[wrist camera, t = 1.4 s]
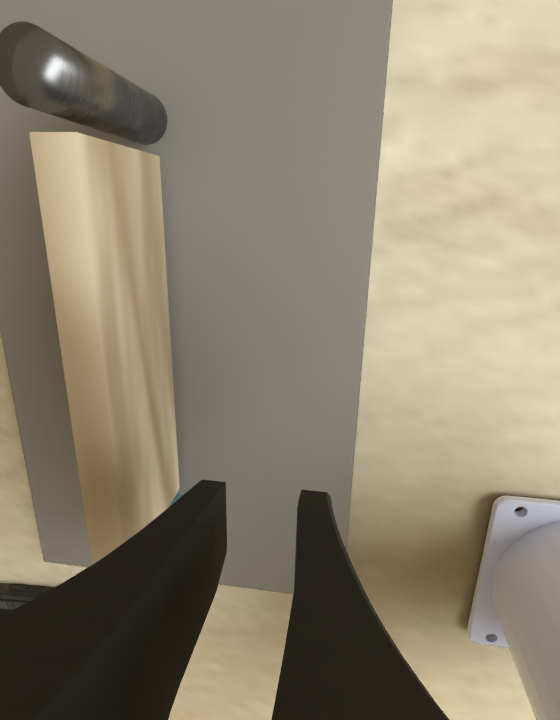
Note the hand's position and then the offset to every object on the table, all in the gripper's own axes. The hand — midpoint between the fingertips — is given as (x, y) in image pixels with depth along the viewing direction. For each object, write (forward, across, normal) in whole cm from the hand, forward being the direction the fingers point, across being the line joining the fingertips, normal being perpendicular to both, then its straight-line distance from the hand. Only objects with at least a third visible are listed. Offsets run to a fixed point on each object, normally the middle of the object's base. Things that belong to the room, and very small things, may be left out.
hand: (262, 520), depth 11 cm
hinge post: (+8, +6, -10) cm, 14 cm away
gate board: (+8, +5, -2) cm, 10 cm away
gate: (+7, +5, -2) cm, 9 cm away
